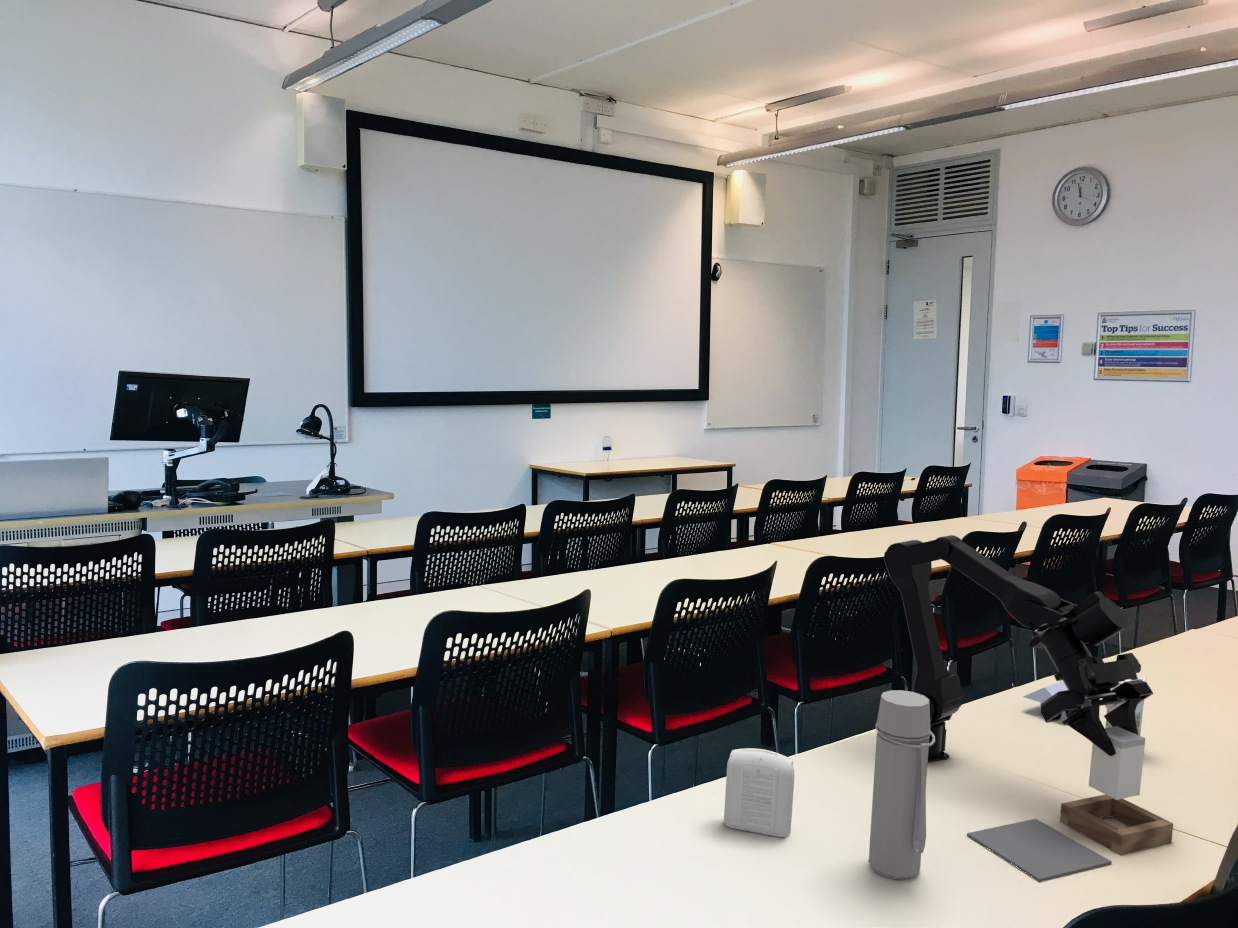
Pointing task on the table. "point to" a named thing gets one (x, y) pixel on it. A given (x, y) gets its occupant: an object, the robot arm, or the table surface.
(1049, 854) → the rubber mat
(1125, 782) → the grey parts box
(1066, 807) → the frame
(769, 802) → the grey flat block
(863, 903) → the table surface
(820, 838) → the table surface
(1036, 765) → the table surface
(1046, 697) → the lavender angled block
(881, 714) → the water bottle
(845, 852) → the table surface
